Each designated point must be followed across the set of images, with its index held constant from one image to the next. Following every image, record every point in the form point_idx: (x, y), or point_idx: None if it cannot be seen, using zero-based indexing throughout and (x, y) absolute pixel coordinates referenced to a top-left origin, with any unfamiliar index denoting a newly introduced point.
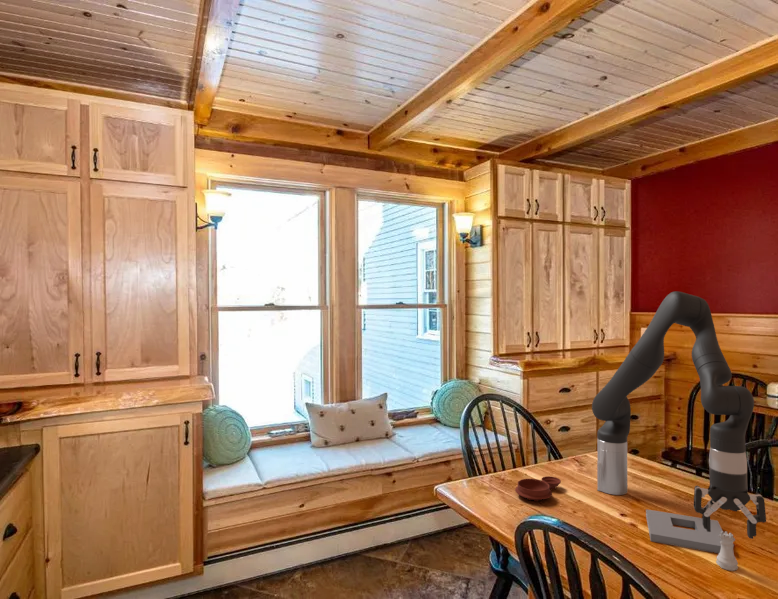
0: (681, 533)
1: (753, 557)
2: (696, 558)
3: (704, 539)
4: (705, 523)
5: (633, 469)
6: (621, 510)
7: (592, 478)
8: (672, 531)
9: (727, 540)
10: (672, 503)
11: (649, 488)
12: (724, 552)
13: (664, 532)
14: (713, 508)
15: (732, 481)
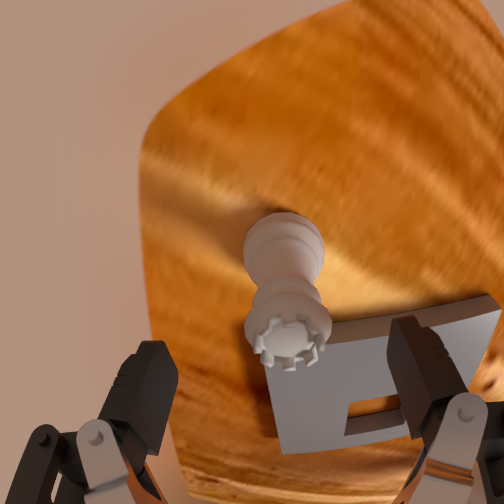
0: None
1: (197, 347)
2: (386, 251)
3: (345, 365)
4: (437, 354)
5: (384, 500)
6: None
7: None
8: None
9: (290, 294)
10: (358, 468)
11: (382, 481)
12: (299, 259)
13: (460, 341)
14: (448, 489)
15: None
